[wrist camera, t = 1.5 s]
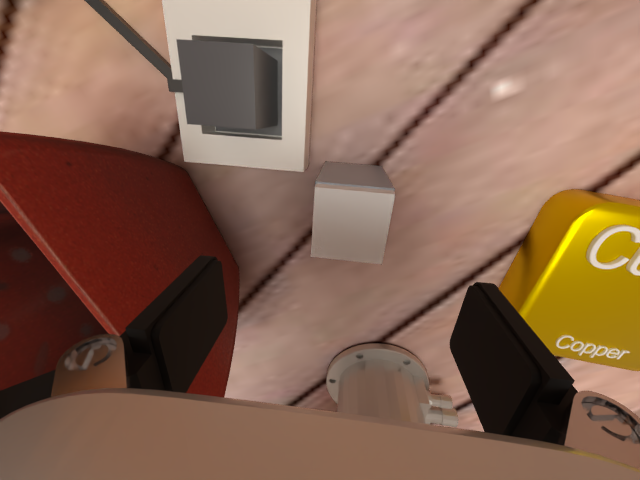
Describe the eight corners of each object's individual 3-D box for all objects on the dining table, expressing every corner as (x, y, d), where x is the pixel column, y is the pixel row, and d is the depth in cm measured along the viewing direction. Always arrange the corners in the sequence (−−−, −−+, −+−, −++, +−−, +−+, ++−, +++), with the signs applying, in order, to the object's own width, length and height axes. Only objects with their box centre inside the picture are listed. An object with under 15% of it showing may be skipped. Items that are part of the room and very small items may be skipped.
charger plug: (381, 166, 24) (397, 192, 16) (373, 218, 27) (383, 266, 18) (325, 161, 25) (313, 185, 17) (321, 213, 27) (309, 257, 19)
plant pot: (195, 113, 24) (-70, 115, 9) (281, 288, 31) (215, 457, 16) (42, 183, 29) (-309, 265, 13) (147, 323, 36) (-5, 481, 20)
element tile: (480, 316, 30) (502, 350, 26) (550, 183, 24) (595, 199, 20) (617, 342, 30) (662, 381, 26) (725, 215, 24) (809, 238, 19)
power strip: (325, -176, 17) (310, -338, 11) (308, 165, 25) (295, 182, 19) (46, -178, 18) (-109, -326, 12) (121, 149, 26) (53, 160, 20)
